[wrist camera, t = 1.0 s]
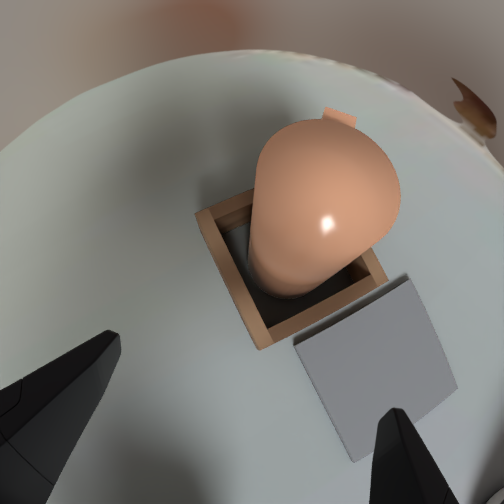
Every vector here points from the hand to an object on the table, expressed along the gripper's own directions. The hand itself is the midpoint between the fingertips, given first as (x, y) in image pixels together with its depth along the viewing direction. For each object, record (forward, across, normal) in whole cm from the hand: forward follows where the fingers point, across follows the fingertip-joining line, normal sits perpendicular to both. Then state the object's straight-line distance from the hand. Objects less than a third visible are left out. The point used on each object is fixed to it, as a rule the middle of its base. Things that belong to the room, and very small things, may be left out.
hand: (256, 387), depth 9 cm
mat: (+11, -11, +9) cm, 18 cm away
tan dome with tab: (+16, -1, +4) cm, 17 cm away
